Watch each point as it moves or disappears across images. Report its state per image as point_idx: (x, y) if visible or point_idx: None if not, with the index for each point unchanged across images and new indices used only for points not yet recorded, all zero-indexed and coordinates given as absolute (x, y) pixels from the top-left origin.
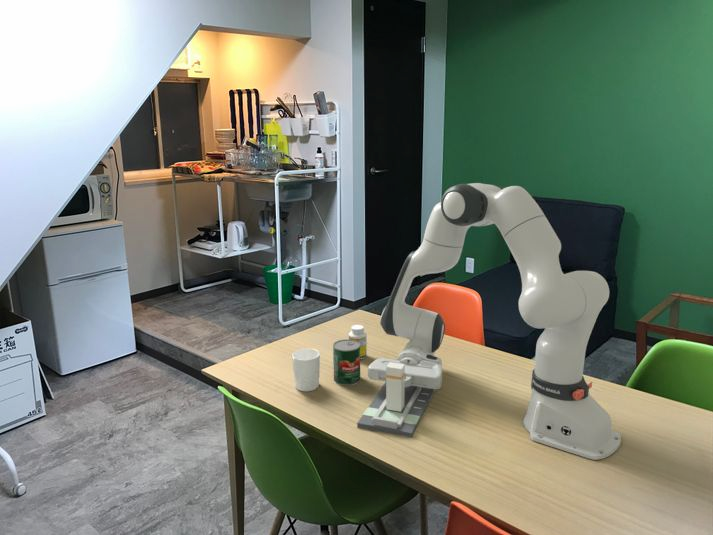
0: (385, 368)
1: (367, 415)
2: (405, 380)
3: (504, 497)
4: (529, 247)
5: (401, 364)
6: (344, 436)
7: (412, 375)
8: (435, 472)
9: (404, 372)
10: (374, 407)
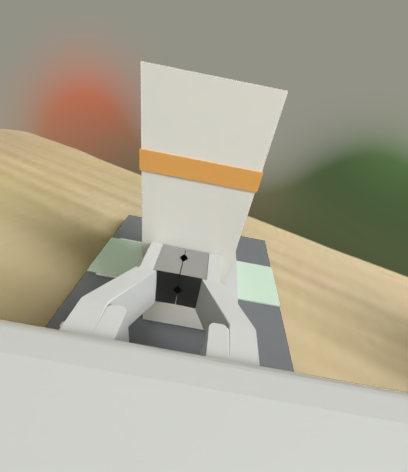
0: (404, 431)
1: (256, 264)
2: (131, 274)
3: (16, 146)
4: None
5: (172, 68)
6: (268, 227)
7: (39, 329)
8: (101, 171)
9: (143, 146)
10: (258, 310)
